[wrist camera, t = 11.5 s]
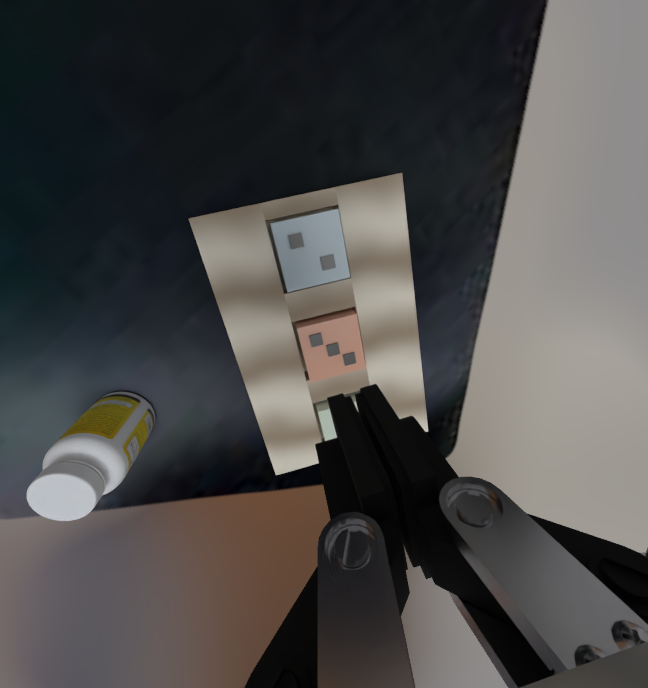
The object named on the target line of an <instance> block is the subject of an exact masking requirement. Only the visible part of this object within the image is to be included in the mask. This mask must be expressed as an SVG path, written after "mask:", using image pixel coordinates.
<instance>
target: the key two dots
mask: <svg viewBox="0 0 648 688" xmlns="http://www.w3.org/2000/svg"><path fill="white" fill-rule="evenodd" d="M270 226H271V230H272V234H273V238H274V242H275V246H276V250H277V254H278V258H279V262H280V266H281V270H282V274H283V278H284V281H285V285H286V289H287V292H291V291H295V290H300V289H304V288H308V287H312V286H316V285H320V284H324V283H329V282H333V281H337V280H341V279H345V278H349V277H350V272H349V267H348V261H347V255H346V249H345V244H344V238H343V232H342V227H341V221H340V215H339V209H335V210H330V211H326V212H321V213H317V214H312V215H307V216H303V217H298V218H294V219H289V220H285V221H280V222H276V223H271V224H270Z"/></svg>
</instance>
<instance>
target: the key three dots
mask: <svg viewBox="0 0 648 688" xmlns="http://www.w3.org/2000/svg"><path fill="white" fill-rule="evenodd" d="M295 325H296V329H297V333H298V337H299V341H300V345H301V349H302V353H303V357H304V361H305V364H306V368H307V372H308V376H309V379H310V383H312V382H316V381H319V380H323V379H327V378H331V377H334V376H338V375H342V374H346V373H349V372H353V371H357V370H361V369H364V368H366V364H365V359H364V353H363V347H362V341H361V336H360V330H359V324H358V318H357V314H356V313H355V312H354V311H353V310H352V309H351V308H347V309H343V310H339V311H335V312H331V313H327V314H323V315H319V316H315V317H311V318H307V319H303V320H299V321H295Z"/></svg>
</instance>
